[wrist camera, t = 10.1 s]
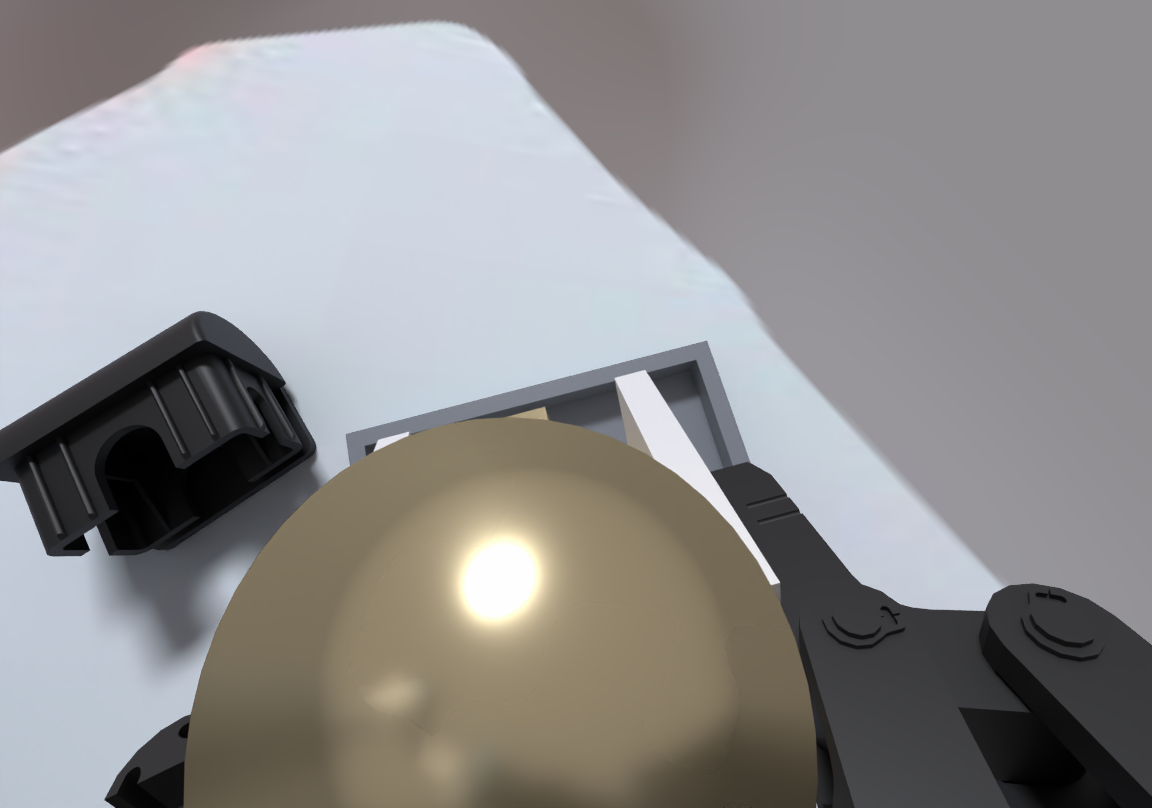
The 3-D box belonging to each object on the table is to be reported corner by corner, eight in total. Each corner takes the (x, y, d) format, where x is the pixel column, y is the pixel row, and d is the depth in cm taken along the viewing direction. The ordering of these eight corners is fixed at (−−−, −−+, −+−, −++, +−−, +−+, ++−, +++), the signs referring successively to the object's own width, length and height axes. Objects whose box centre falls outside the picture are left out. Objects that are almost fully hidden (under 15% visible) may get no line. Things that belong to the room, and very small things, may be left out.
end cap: (270, 345, 29) (174, 285, 22) (328, 445, 27) (243, 413, 21) (106, 448, 28) (-47, 417, 21) (156, 560, 26) (7, 564, 19)
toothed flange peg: (426, 859, 14) (-368, 2259, 2) (370, 467, 17) (-106, 299, 5) (817, 750, 14) (1701, 1577, 3) (692, 382, 17) (867, 54, 6)
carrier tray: (426, 843, 22) (405, 877, 20) (367, 444, 27) (345, 434, 25) (826, 730, 23) (852, 751, 20) (697, 358, 27) (706, 340, 25)
